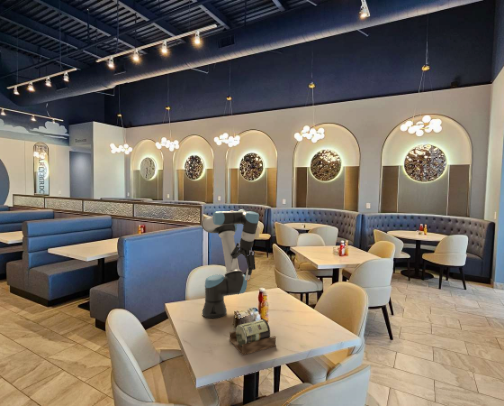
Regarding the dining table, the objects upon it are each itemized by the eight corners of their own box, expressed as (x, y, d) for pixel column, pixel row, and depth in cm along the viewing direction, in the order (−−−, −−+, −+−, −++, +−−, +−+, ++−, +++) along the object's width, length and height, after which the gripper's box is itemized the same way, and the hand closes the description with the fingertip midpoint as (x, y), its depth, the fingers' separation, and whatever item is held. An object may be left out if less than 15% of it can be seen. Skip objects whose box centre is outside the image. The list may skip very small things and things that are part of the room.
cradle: (260, 332, 160) (260, 324, 160) (275, 346, 146) (275, 337, 146) (229, 340, 151) (229, 331, 151) (242, 355, 138) (242, 345, 138)
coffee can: (237, 347, 146) (262, 340, 153) (246, 347, 138) (272, 340, 145) (234, 325, 149) (258, 319, 156) (242, 324, 141) (267, 318, 148)
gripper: (229, 231, 172) (222, 265, 175) (256, 248, 153) (248, 285, 157) (239, 231, 176) (232, 264, 180) (267, 247, 158) (258, 283, 162)
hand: (239, 274), depth 169 cm, fingers open, 13 cm apart
